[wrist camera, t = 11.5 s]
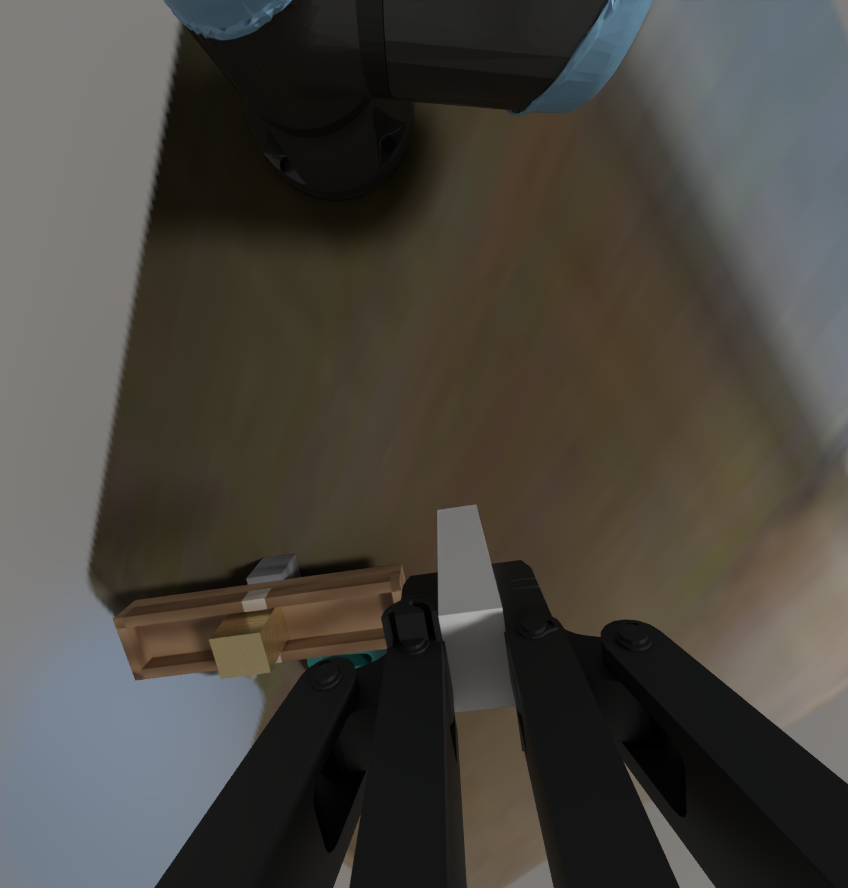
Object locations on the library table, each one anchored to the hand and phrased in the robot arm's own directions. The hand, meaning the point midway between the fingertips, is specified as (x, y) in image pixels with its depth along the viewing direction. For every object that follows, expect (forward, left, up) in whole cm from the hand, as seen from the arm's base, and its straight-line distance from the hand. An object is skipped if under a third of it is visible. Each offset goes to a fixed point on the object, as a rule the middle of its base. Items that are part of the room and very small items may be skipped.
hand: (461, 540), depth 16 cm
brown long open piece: (+18, -22, -30) cm, 42 cm away
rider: (+18, -23, -24) cm, 38 cm away
